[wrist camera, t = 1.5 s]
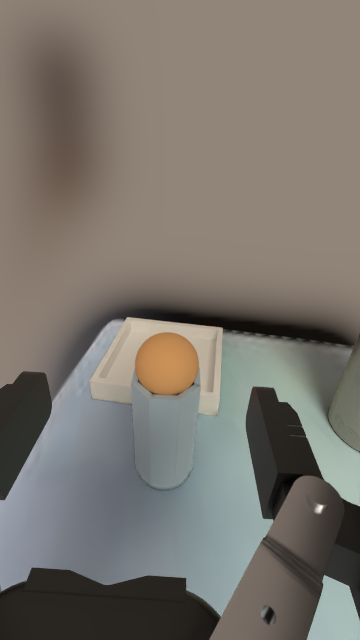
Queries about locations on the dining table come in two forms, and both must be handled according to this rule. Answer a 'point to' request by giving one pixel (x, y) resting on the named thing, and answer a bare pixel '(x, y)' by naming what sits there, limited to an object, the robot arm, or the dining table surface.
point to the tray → (121, 355)
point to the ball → (166, 364)
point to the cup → (164, 434)
